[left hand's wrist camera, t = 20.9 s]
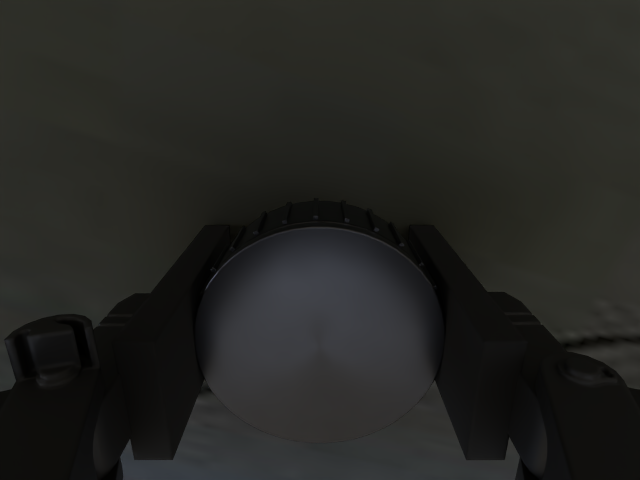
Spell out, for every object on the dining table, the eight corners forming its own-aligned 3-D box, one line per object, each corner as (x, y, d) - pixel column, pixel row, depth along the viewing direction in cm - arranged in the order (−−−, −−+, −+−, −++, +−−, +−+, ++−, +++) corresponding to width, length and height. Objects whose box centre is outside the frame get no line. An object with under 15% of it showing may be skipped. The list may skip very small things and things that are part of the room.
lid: (472, 293, 12) (503, 337, 10) (327, 421, 13) (329, 482, 11) (310, 148, 10) (307, 164, 8) (169, 309, 12) (138, 355, 10)
